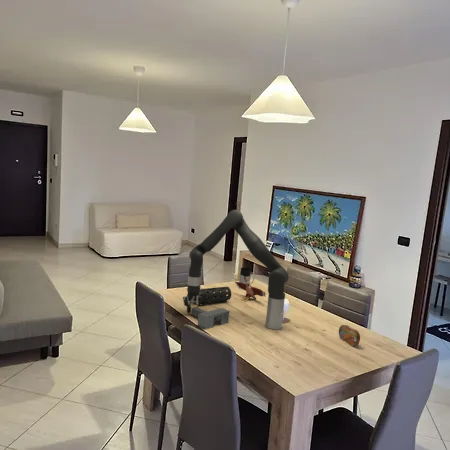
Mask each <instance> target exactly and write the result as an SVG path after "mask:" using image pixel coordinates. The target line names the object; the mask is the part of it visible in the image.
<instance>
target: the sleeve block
mask: <svg viewBox="0 0 450 450" xmlns="http://www.w3.org/2000/svg"><path fill="white" fill-rule="evenodd" d="M229 318H230V310H228V309H225V308H222V307H220V308H216V309H212V310H208V311H207V312H203V313H199V315H198V317H197V327H199V328H202V329H203V330H208V329H211V328H214V323H215V324H218V325H220V326H222V325H225V324H226V325H227V324H229V321H230V320H229Z"/></svg>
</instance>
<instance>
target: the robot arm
mask: <svg viewBox="0 0 450 450" xmlns="http://www.w3.org/2000/svg"><path fill="white" fill-rule="evenodd" d="M231 229H233V230H234V231H235V232H236V233H237V234H238V235H239V237H240V238H241V240H242V242H243V243H244V245H245V247H246V248H247V249H248V251H249V252H250V255H252V257H254V258H255V259H256V260H257V261H259V263H260V264H262V265H264V266H265V267H266V268H267V270H268V271H269V272H270V273H269V275H268V282H267V293H268V298H267V304H266V305H267V307H266V315H265V317H266V318H265V327H266V328H268V329H270V330H282V329H283V322H284V312H285V311H284V310H285V299H286V293H285V284H287V283H288V281H289V279H290V278H289V273H288V271H287V270H286V269H285V268H284V267H283V266H282V265H281V264H280V262H278V260H277V259H276V258H275V256H274V255H273V253H272V252H271V251H270V250H269V249H268V247H267V246H266V244H265V243H264V242H263V240H262V239H261V237H259V236H258V235H257V234H256V233H255V232H254V231H253V230H252V229H251V228H250V227H249V226H248V224H247V222H246V220H245V218H244V215H243V214H242V212H241V211H240V210H238V209H231V211H229V212H228V213H227V215H226V216H225V218H224V219H223V220H222V221H221V223H220V224H219V225H218V226H217V227H216V228H214V230H213V231H212V232H211V233H210V234H209V235H208V236H207V237H205V238H204V239H203V240H202V241H201V242H200V243H199V244H198V245H196V246H195V247H194V248H193V249H191V251H190V252H189V258H190V266H189V268H188V278H187V287H186V288H187V289H186V291H187V294H186V295H185V296H183V297H182V298H183V299H182V301H183V305H184V307H186V313H187V314H189V313H190V312H191V304H192V303H193V301H194V304H195V305H197V307H198V308H199V304H201V300H202V297H203V294H201V293H199V292H200V289H201V279H202V277H201V276H202V266H203V264H204V263H203V262H204V255H205V254H206V253H209V252H211V251H212V250H213V249H214V248H215V247H216V246H217V245H218V244H219V243H220V241H222V239H223V238H224V236H225V235H226V234H227V233H228V232H229V231H230V230H231ZM190 301H191V302H190Z"/></svg>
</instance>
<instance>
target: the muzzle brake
mask: <svg viewBox="0 0 450 450" xmlns="http://www.w3.org/2000/svg"><path fill="white" fill-rule="evenodd" d="M199 293H201V294H203V297H202V300H201V304H202V305H204V304H208V303H210V304H213V303H215V304H216V303H225V301H226V302H228V301H230V300H231V298H232V290H231V288H230V287H229V286H218V287H209V288H200V292H199ZM190 302H191V301H190ZM192 304H194V301H193V303H192ZM198 306H200V304H198Z"/></svg>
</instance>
